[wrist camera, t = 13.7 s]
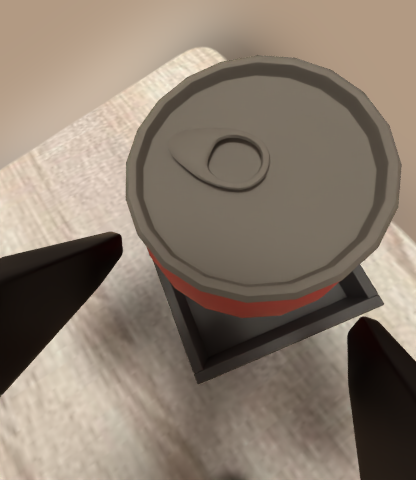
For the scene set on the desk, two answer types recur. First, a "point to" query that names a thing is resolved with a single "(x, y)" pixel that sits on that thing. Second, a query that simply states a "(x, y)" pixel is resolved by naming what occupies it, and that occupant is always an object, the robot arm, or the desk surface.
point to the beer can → (262, 184)
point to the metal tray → (261, 325)
